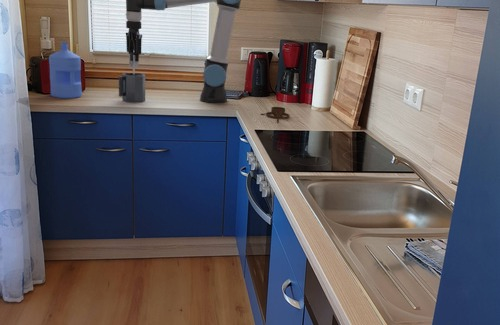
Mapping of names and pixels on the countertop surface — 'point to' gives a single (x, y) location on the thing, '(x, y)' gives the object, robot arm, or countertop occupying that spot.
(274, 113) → the place setting
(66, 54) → the water jug
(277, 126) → the countertop surface
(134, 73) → the plunger
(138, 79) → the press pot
